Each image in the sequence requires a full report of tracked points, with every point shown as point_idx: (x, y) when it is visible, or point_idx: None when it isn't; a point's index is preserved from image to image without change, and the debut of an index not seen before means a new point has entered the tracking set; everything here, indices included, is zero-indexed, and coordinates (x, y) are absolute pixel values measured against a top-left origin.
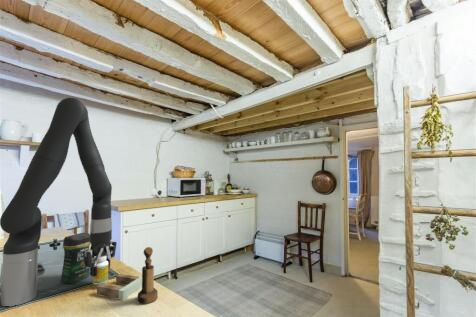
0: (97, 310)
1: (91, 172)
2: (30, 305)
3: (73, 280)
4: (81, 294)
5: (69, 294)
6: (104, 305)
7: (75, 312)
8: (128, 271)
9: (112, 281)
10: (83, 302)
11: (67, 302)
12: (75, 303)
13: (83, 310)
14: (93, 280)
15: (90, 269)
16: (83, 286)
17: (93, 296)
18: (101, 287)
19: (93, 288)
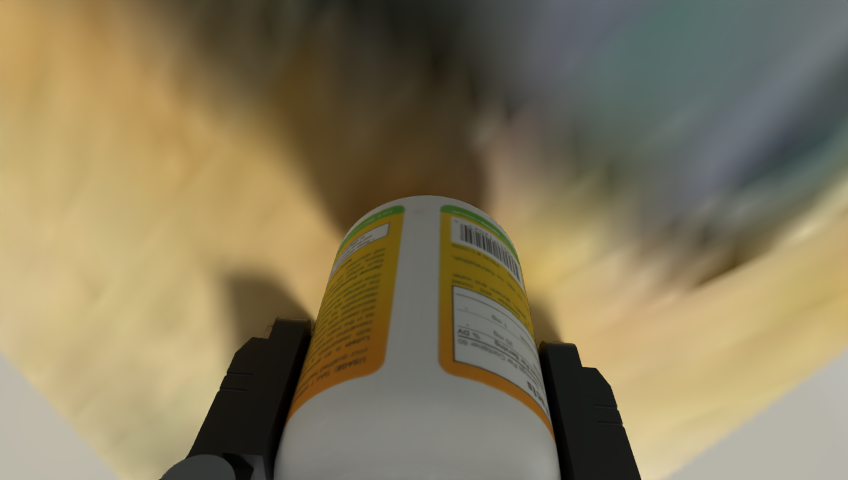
0: (119, 453)
1: None
2: None
3: None
4: (199, 192)
5: (123, 47)
6: (182, 455)
7: (7, 358)
8: (844, 299)
9: (550, 292)
10: (120, 315)
11: (25, 183)
12: (68, 268)
13: (59, 386)
14: (330, 276)
15: (206, 425)
16: (354, 45)
17: (230, 323)
18: None
19: (352, 215)
